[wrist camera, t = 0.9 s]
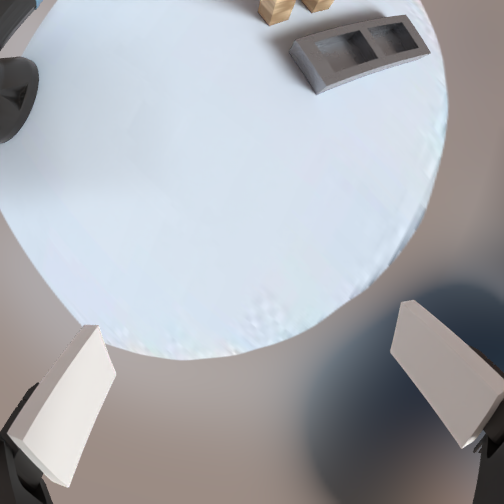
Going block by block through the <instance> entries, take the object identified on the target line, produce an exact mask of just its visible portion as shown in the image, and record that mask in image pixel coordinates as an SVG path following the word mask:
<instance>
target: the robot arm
mask: <svg viewBox="0 0 504 504" xmlns="http://www.w3.org/2000/svg"><path fill="white" fill-rule="evenodd" d="M42 1H43V0H0V51H1V49H2V48H3V47H4V45H5V44H6V43H7V41H8V40H9V39H10V37H11V36H12V35H13V34H14V32H15V31H16V30H17V29H18V28H19V27H20V25H21V24H22V23H23V22H24V20H26V19H27V17H28V16H29V15H30V14H31V13H32V12H33V11H34V10H36V9H37V8H38V7H39V4H40V3H41V2H42ZM38 82H39V74H38V69H37V66H36V65H35V63H34V62H33V61H31V60H29V59H27V58H24V57H13V58H1V59H0V144H1V143H4V142H7V141H8V140H10V139H11V138H12V137H13V136H14V135H15V134H16V133H17V132H18V131H19V130H20V128H21V127H22V126H23V124H24V123H25V121H26V119H27V117H28V115H29V113H30V111H31V109H32V106H33V104H34V101H35V98H36V94H37V90H38ZM390 352H391V354H392V355H393V356H394V357H395V359H396V360H397V361H398V363H399V364H400V365H401V366H402V368H403V369H404V370H405V372H406V373H407V374H408V376H409V377H410V378H411V379H412V381H413V382H414V383H415V385H416V386H417V387H418V389H419V390H420V391H421V392H422V394H423V395H424V397H425V398H426V399H427V401H428V402H429V403H430V405H431V406H432V408H433V409H434V410H435V412H436V413H437V414H438V416H439V417H440V418H441V420H442V421H443V423H444V424H445V426H446V427H447V429H448V430H449V431H450V433H451V434H452V436H453V437H454V438H455V440H456V441H457V443H458V444H459V446H460V447H461V448H463V447H465V446H467V445H468V444H470V443H471V442H473V441H474V440H475V439H476V438H477V437H478V436H479V434H480V433H481V431H482V430H484V431H485V432H486V434H485V435H484V437H483V438H482V439H481V440H480V442H479V443H478V444H477V445H476V447H475V448H474V451H473V452H474V453H475V452H476V451H477V450H478V449H479V447H480V446H481V445H482V448H481V449H480V451H479V453H481V459H480V467H479V474H478V480H477V485H476V490H475V495H474V499H473V504H504V373H503V372H502V371H501V370H500V369H499V368H498V367H497V366H496V365H493V362H492V361H490V360H489V359H487V357H486V356H485V355H484V354H483V353H482V352H481V351H479V350H478V349H476V348H474V347H472V346H468V345H467V344H465V343H464V342H463V341H462V340H461V339H460V338H459V337H458V336H456V335H455V334H454V333H453V332H452V331H451V330H450V329H448V328H447V327H446V326H445V325H444V324H443V323H441V322H440V321H439V320H438V319H437V318H435V317H434V316H433V315H432V314H431V313H429V312H428V311H427V310H426V309H425V308H423V307H422V306H421V305H420V304H418V303H417V302H416V301H415V300H410V301H405V302H401V305H400V310H399V315H398V321H397V325H396V329H395V334H394V338H393V342H392V346H391V350H390ZM115 376H116V372H115V369H114V367H113V364H112V362H111V359H110V357H109V354H108V351H107V349H106V346H105V343H104V340H103V337H102V334H101V331H100V328H99V325H84V326H83V327H82V329H81V330H80V331H79V332H78V334H77V335H76V336H75V337H74V339H73V340H72V341H71V342H70V344H69V345H68V346H67V347H66V349H65V350H64V351H63V352H62V354H61V355H60V356H59V358H58V359H57V360H56V362H55V363H54V364H53V366H52V367H51V368H50V370H49V371H48V372H47V374H46V375H45V376H44V378H43V380H42V381H41V382H40V383H36V384H35V385H34V386H33V387H31V388H30V389H29V390H28V391H27V392H26V394H25V396H24V397H23V400H21V401H20V403H19V404H18V407H16V408H15V410H14V411H13V413H12V414H11V416H10V418H9V419H8V421H7V422H6V424H5V425H4V427H3V428H2V430H1V431H0V504H53V502H52V500H51V497H50V495H49V492H48V489H47V487H46V484H45V482H44V480H43V479H42V478H41V477H42V475H43V473H44V474H45V475H46V476H47V477H48V478H49V479H50V480H51V481H52V482H55V483H58V484H60V485H62V486H65V487H68V488H69V486H70V483H71V481H72V478H73V475H74V472H75V470H76V467H77V464H78V462H79V459H80V456H81V454H82V451H83V449H84V446H85V444H86V442H87V439H88V437H89V434H90V432H91V429H92V427H93V425H94V422H95V420H96V418H97V416H98V413H99V411H100V409H101V406H102V404H103V402H104V400H105V397H106V396H107V393H108V391H109V389H110V387H111V385H112V383H113V381H114V378H115Z"/></svg>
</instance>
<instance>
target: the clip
mask: <svg viewBox="0 0 504 504" xmlns="http://www.w3.org/2000/svg"><path fill="white" fill-rule="evenodd" d="M301 1H302V2H303V3H304V4H305V5H306V7H307V8H308V9H309V10H310V11H311V13H314V12H318V11H322V10H327V9H329V7H330V6H331V4H332V3H333V1H334V0H301ZM295 2H296V0H260V3H259V8H258V13H259V14H260V15H261V16H262V18H263V19H264V20H265V21H266V23H267V24H268V25H269V26H271V25H274V24H277V23H280V22H283V21H286V20H288V19H289V16H290V14H291V11H292V9H293V7H294V4H295Z"/></svg>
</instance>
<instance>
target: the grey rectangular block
mask: <svg viewBox="0 0 504 504" xmlns="http://www.w3.org/2000/svg"><path fill="white" fill-rule="evenodd" d="M289 53H290V55H291V56H292V58H293V59H294V60H295V62H296V63H297V65H298V66H299V68H300V69H301V71H302V72H303V74H304V75H305V77H306V78H307V80H308V82H309V83H310V85H311V86H312V88H313V90H314V91H315V93H316V94H320V93H322V92H325V91H327V90H330V89H332V88H334V87H337V86H340V85H342V84H345V83H347V82H350V81H353V80H355V79H358V78H361V77H364V76H367V75H369V74H372V73H375V72H378V71H381V70H384V69H388V68H391V67H394V66H397V65H401V64H404V63H408V62H411V61H415V60H418V59H420V58H422V57H424V56H426V55H428V54H430V51H429V49H428V47H427V46H426V44H425V43H424V41H423V39H422V38H421V36H420V35H419V33H418V32H417V30H416V29H415V27H414V26H413V24H412V23H411V21H410V20H409V19H408V17H407V16H406V15H400V16H392V17H385V18H379V19H373V20H368V21H363V22H358V23H353V24H349V25H345V26H340V27H336V28H333V29H329V30H325V31H322V32H318V33H315V34H312V35H308V36H305V37H302V38H299V39H296V40H295V41H294V43H293V45H292V47H291V49H290V51H289Z"/></svg>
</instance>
